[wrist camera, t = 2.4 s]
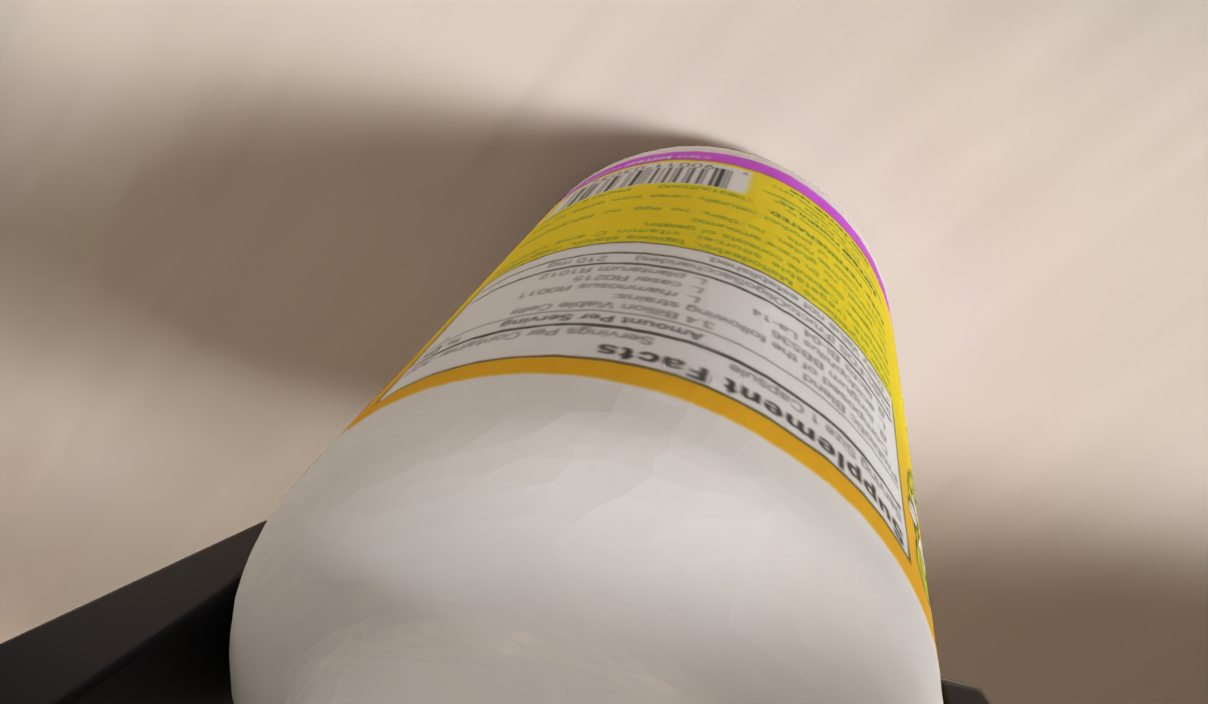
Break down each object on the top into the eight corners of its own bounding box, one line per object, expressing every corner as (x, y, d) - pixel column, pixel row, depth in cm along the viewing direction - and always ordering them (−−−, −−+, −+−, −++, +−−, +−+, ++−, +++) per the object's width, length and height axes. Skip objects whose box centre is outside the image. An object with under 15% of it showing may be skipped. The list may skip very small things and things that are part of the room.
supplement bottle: (726, 525, 18) (545, 1503, 7) (466, 328, 18) (-178, 1064, 7) (979, 300, 15) (1368, 1452, 4) (671, 48, 14) (80, 567, 3)
